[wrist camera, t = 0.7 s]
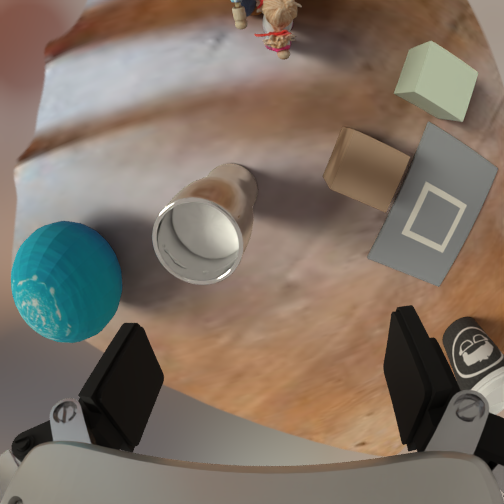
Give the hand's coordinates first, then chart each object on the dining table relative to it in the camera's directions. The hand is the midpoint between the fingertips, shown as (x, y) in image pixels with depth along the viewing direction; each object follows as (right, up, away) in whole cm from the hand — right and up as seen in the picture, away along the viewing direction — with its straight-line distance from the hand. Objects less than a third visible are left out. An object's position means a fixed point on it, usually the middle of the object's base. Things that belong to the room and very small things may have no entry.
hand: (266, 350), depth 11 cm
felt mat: (+22, +9, +22) cm, 32 cm away
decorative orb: (-23, +3, +30) cm, 38 cm away
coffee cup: (+32, -9, +30) cm, 45 cm away
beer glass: (-3, +11, +24) cm, 26 cm away
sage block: (+19, +22, +16) cm, 33 cm away
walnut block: (+11, +13, +21) cm, 27 cm away
